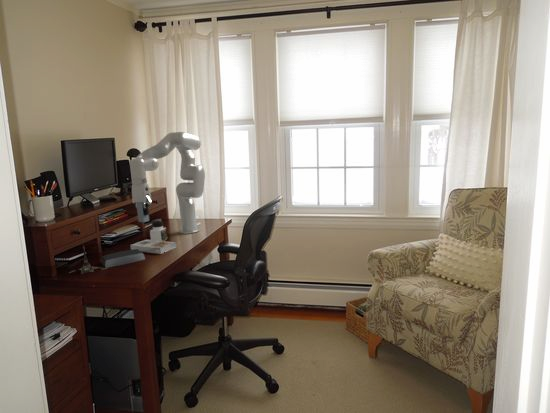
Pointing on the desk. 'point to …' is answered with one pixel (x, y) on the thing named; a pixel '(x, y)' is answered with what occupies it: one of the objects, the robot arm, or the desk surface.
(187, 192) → the robot arm
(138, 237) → the desk surface
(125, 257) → the external hard drive
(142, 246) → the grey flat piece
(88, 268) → the eiffel tower figurine
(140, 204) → the peg
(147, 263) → the desk surface
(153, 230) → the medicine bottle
